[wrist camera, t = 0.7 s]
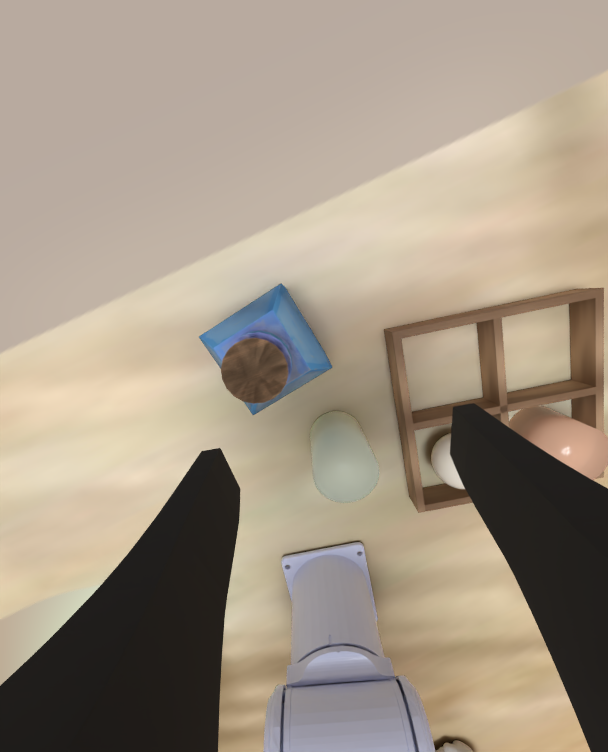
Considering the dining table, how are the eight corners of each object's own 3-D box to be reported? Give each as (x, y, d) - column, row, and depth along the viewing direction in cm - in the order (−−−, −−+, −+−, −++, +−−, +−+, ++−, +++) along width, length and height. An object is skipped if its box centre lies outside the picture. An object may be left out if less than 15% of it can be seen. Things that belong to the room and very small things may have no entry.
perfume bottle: (285, 287, 26) (274, 277, 14) (324, 352, 27) (344, 391, 16) (221, 328, 27) (161, 350, 15) (262, 390, 28) (237, 454, 16)
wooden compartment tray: (579, 463, 30) (603, 477, 28) (409, 496, 30) (418, 512, 28) (576, 288, 26) (603, 287, 24) (384, 329, 27) (392, 332, 25)
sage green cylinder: (365, 453, 30) (383, 496, 23) (315, 463, 30) (320, 508, 23) (357, 406, 28) (373, 436, 22) (305, 416, 29) (307, 450, 22)
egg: (476, 465, 30) (507, 494, 25) (426, 475, 30) (448, 506, 26) (471, 419, 29) (503, 441, 24) (419, 429, 29) (442, 453, 25)
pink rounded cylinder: (560, 450, 30) (611, 479, 25) (507, 460, 30) (548, 491, 25) (558, 400, 29) (611, 421, 24) (503, 411, 29) (545, 434, 24)
